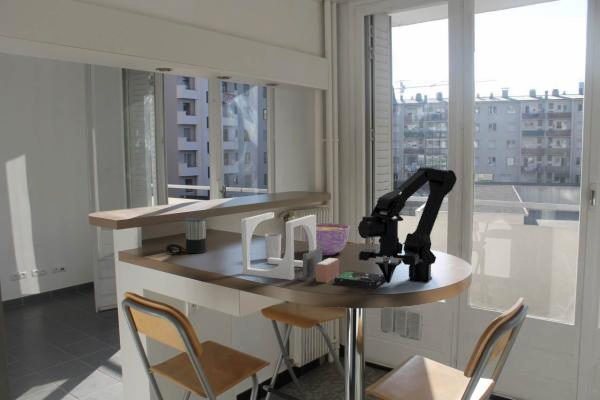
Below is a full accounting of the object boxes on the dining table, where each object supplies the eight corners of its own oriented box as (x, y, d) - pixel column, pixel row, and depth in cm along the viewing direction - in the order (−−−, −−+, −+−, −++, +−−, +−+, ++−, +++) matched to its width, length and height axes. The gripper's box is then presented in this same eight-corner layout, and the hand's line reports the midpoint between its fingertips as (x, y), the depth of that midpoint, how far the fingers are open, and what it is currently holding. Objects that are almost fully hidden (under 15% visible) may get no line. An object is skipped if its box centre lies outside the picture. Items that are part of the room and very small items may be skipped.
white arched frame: (242, 274, 183) (241, 219, 181) (270, 262, 201) (269, 212, 199) (291, 280, 174) (290, 222, 172) (316, 267, 192) (315, 214, 190)
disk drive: (386, 283, 171) (346, 277, 178) (387, 275, 170) (346, 269, 178) (375, 291, 162) (333, 284, 169) (375, 282, 161) (333, 276, 169)
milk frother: (211, 251, 223) (210, 218, 222) (182, 257, 211) (180, 222, 210) (191, 247, 232) (189, 215, 231) (161, 253, 220) (160, 219, 219)
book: (339, 276, 179) (338, 258, 178) (326, 283, 170) (326, 264, 170) (328, 274, 181) (328, 257, 180) (316, 281, 172) (316, 263, 171)
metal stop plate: (322, 273, 183) (322, 248, 182) (307, 280, 173) (306, 254, 172) (313, 271, 185) (313, 247, 184) (297, 279, 174) (297, 253, 173)
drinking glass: (275, 256, 212) (274, 232, 210) (284, 259, 206) (284, 234, 205) (262, 258, 207) (261, 234, 206) (271, 261, 202) (271, 236, 201)
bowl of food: (359, 252, 217) (359, 225, 216) (330, 260, 202) (330, 232, 201) (323, 246, 230) (323, 221, 229) (293, 254, 216) (293, 227, 214)
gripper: (424, 233, 166) (423, 280, 168) (369, 229, 175) (369, 274, 176) (415, 239, 156) (414, 288, 158) (358, 234, 165) (357, 281, 167)
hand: (388, 282), depth 165 cm, fingers closed
